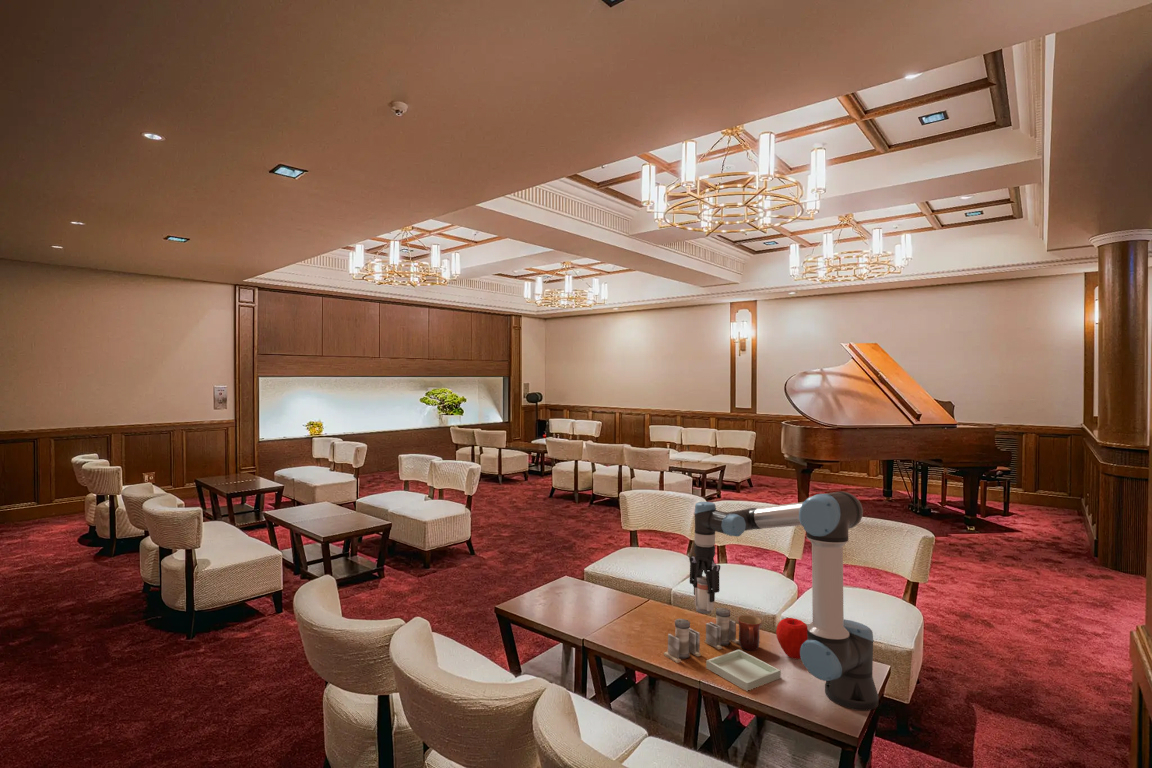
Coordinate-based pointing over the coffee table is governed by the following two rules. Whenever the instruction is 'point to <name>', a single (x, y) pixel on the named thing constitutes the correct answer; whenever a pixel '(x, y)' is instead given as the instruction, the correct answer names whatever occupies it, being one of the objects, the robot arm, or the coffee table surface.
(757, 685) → the tray
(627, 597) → the coffee table surface
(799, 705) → the coffee table surface
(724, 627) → the clip rack
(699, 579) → the cylinder
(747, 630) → the mug
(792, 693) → the coffee table surface
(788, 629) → the apple
